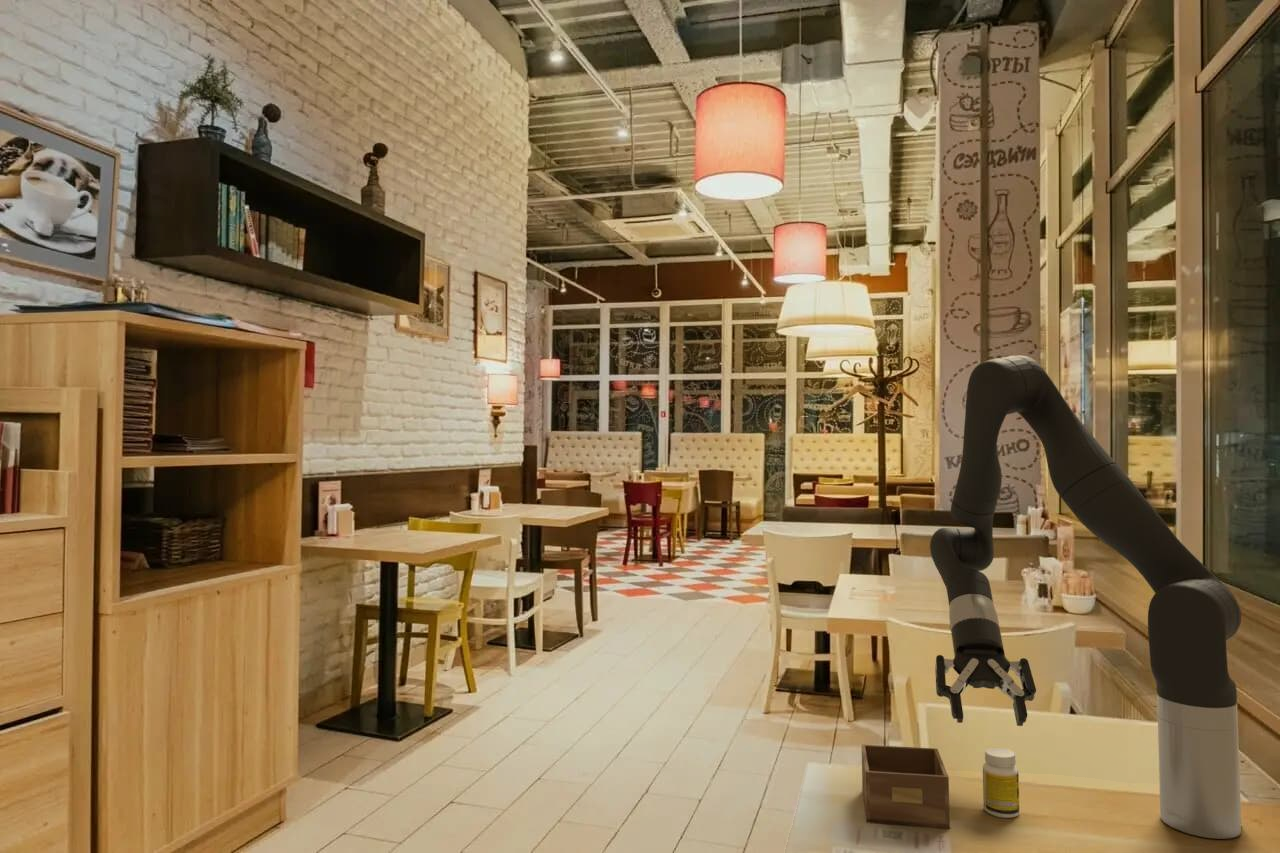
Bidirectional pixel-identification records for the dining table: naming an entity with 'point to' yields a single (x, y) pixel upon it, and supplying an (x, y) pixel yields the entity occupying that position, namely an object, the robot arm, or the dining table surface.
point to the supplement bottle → (1000, 783)
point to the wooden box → (905, 786)
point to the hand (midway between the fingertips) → (990, 722)
